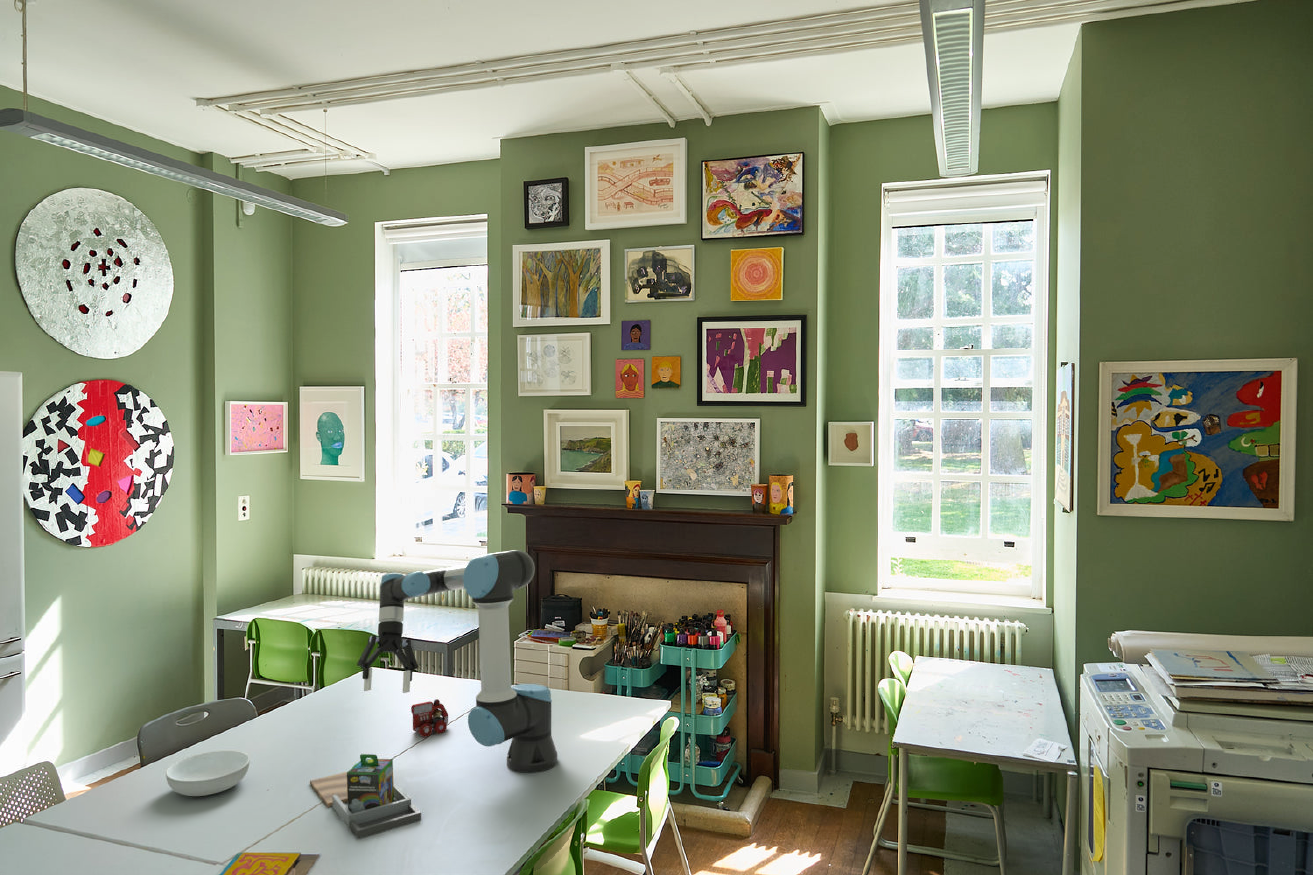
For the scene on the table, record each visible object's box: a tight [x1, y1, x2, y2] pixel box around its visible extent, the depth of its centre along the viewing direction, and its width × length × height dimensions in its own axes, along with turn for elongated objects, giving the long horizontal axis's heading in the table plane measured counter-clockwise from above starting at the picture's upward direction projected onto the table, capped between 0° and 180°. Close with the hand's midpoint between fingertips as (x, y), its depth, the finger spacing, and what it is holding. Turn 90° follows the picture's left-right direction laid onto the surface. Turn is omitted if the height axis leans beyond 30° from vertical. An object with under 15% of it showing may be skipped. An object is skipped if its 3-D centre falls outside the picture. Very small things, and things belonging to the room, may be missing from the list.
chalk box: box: [346, 753, 395, 814], centre depth 221 cm, size 9×9×15 cm
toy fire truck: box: [410, 698, 449, 738], centre depth 276 cm, size 7×12×10 cm, turn 128°
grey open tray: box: [331, 782, 422, 840], centre depth 218 cm, size 22×16×3 cm
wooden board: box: [309, 771, 348, 808], centre depth 234 cm, size 18×18×1 cm
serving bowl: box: [165, 750, 251, 797], centre depth 233 cm, size 21×21×7 cm
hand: (387, 691), depth 256 cm, fingers open, 13 cm apart
